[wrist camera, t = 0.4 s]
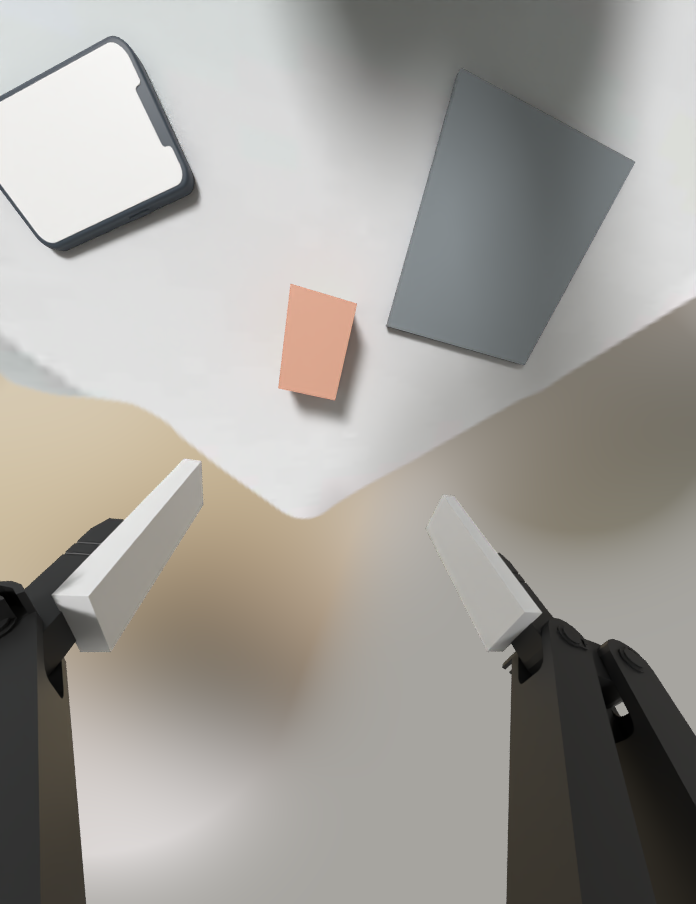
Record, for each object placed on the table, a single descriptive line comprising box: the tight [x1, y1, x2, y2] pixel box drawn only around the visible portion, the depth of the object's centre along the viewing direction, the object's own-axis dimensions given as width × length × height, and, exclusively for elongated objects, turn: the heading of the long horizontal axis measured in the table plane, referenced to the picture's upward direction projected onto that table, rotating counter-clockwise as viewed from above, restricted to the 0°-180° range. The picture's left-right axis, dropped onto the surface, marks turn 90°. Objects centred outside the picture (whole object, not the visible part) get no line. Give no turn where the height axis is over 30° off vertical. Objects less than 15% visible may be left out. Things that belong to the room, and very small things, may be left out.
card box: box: [278, 284, 357, 400], centre depth 28 cm, size 10×6×6 cm, turn 166°
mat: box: [386, 68, 635, 365], centre depth 27 cm, size 20×20×1 cm
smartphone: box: [0, 36, 194, 251], centre depth 21 cm, size 9×2×16 cm
